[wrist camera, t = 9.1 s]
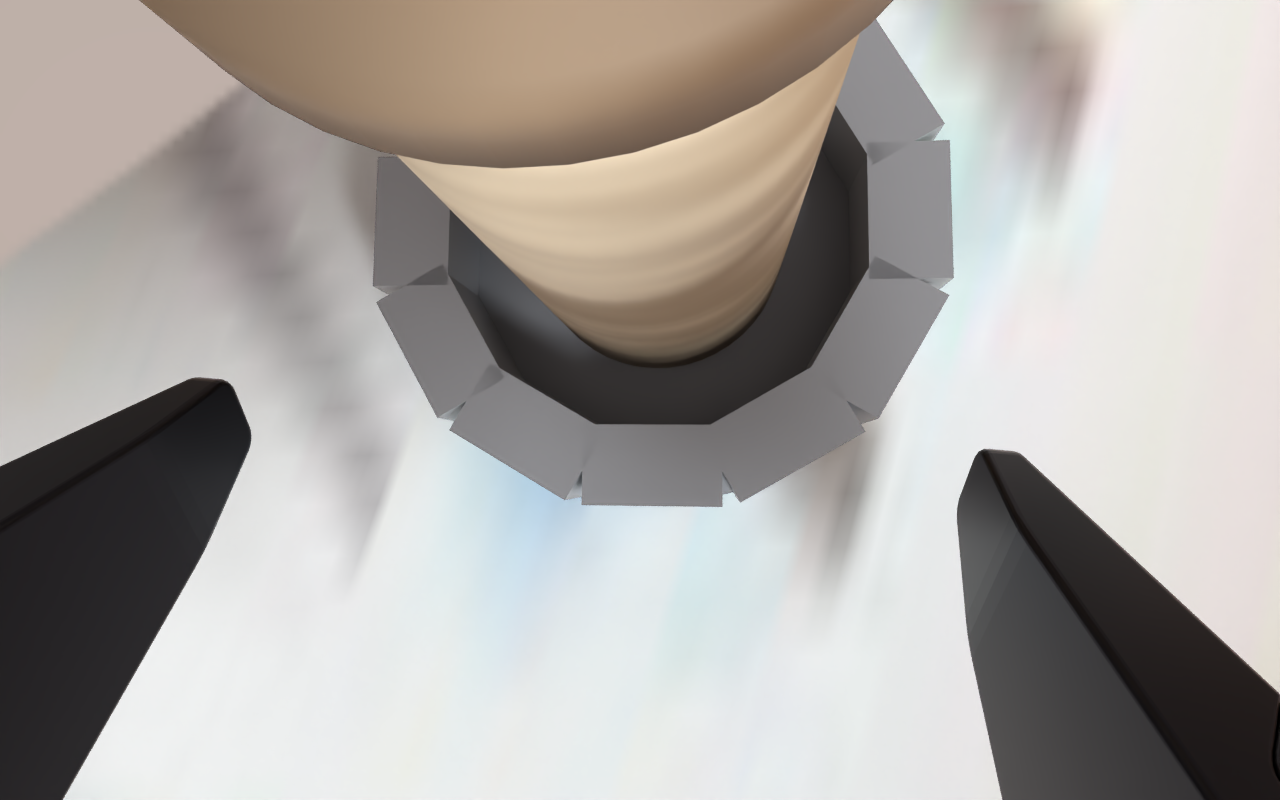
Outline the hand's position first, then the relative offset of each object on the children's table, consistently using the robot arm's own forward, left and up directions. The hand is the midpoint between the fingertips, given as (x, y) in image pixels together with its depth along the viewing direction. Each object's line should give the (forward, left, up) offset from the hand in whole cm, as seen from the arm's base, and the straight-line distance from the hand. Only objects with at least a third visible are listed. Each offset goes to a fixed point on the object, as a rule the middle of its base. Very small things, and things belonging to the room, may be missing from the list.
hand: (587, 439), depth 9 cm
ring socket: (+3, +4, -8) cm, 9 cm away
